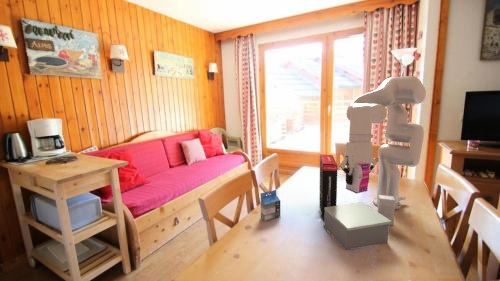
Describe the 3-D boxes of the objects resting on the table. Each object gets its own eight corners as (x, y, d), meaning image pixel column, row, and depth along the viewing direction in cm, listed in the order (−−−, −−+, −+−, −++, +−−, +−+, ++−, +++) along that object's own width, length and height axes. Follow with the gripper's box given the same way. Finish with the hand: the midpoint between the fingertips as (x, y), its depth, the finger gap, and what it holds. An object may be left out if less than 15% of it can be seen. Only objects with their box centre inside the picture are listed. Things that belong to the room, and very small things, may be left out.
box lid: (361, 203, 107) (361, 201, 106) (391, 223, 90) (391, 221, 90) (324, 209, 103) (324, 207, 103) (348, 230, 87) (348, 228, 87)
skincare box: (391, 221, 108) (393, 196, 105) (393, 225, 104) (396, 200, 102) (376, 219, 110) (378, 194, 107) (377, 223, 106) (380, 198, 103)
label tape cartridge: (264, 221, 110) (264, 196, 108) (260, 217, 113) (260, 193, 111) (280, 216, 114) (280, 192, 112) (276, 213, 117) (276, 189, 115)
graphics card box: (336, 221, 108) (339, 163, 103) (320, 220, 110) (322, 163, 105) (331, 204, 125) (333, 154, 120) (317, 204, 126) (319, 153, 121)
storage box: (360, 221, 108) (361, 205, 106) (387, 242, 92) (389, 224, 91) (323, 227, 104) (324, 210, 103) (345, 249, 89) (346, 230, 87)
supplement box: (357, 194, 91) (359, 165, 89) (345, 188, 96) (346, 161, 94) (368, 191, 93) (370, 163, 91) (356, 186, 98) (357, 159, 96)
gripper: (372, 135, 96) (369, 177, 99) (333, 137, 93) (331, 181, 96) (387, 138, 89) (383, 184, 92) (345, 141, 85) (342, 188, 89)
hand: (357, 182), depth 94 cm, fingers closed on supplement box, 6 cm apart
